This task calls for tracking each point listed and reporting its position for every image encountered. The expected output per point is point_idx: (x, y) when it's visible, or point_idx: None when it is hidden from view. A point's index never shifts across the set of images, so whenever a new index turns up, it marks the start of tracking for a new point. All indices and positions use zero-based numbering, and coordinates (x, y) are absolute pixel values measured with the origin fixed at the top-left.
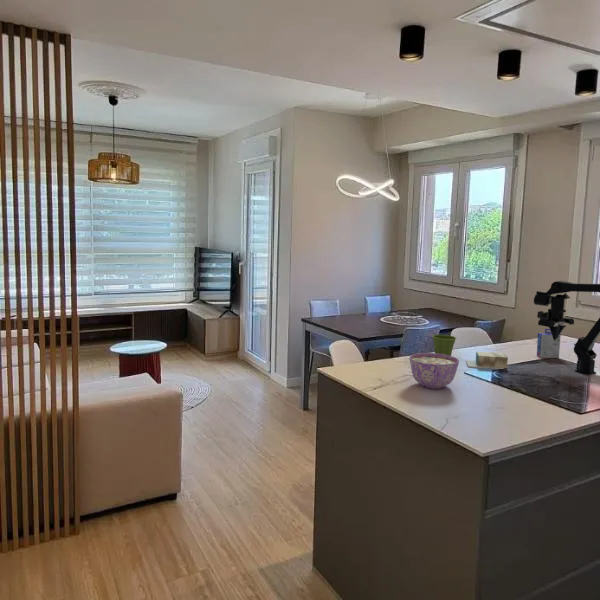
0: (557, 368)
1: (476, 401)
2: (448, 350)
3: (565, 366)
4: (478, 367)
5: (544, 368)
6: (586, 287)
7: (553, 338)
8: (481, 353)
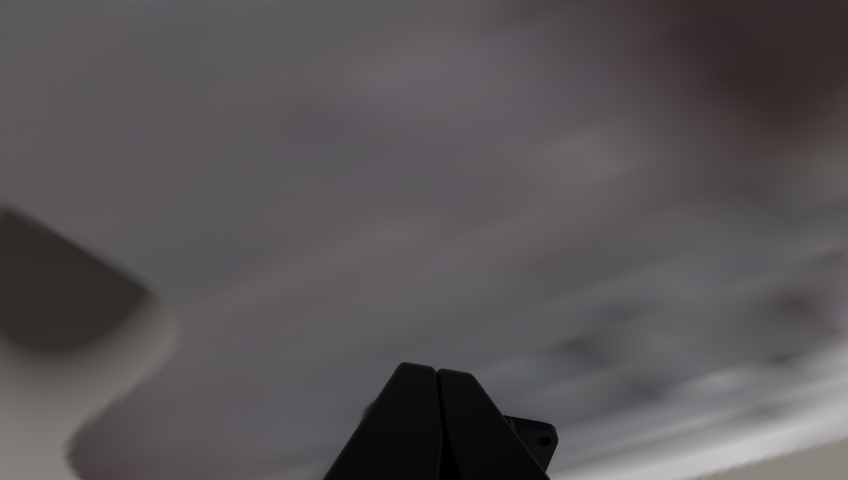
0: (337, 202)
1: None
2: None
3: (568, 220)
4: None
5: (144, 80)
6: None
7: (383, 395)
8: None
